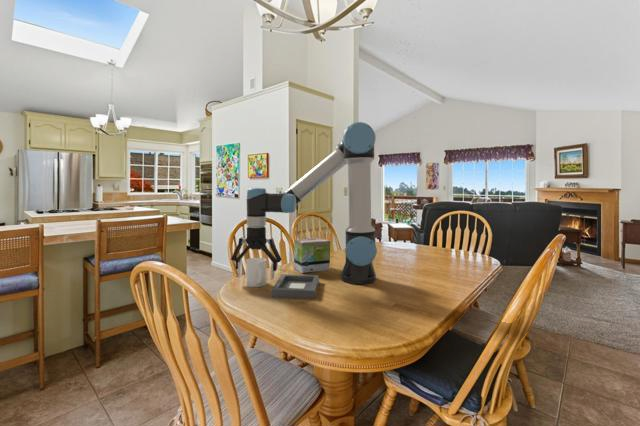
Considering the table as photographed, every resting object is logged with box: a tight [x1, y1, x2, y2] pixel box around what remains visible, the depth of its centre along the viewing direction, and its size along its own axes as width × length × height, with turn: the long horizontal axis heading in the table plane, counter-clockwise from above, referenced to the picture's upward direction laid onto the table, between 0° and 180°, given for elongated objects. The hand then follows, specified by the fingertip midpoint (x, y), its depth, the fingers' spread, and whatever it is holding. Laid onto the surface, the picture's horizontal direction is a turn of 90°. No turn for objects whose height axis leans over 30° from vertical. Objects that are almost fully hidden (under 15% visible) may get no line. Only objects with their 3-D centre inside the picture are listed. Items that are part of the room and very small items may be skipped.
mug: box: [245, 257, 267, 288], centre depth 133 cm, size 12×8×10 cm
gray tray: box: [271, 273, 320, 300], centre depth 129 cm, size 16×20×3 cm
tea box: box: [293, 237, 331, 274], centre depth 158 cm, size 15×10×15 cm, turn 117°
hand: (256, 277), depth 133 cm, fingers open, 13 cm apart
